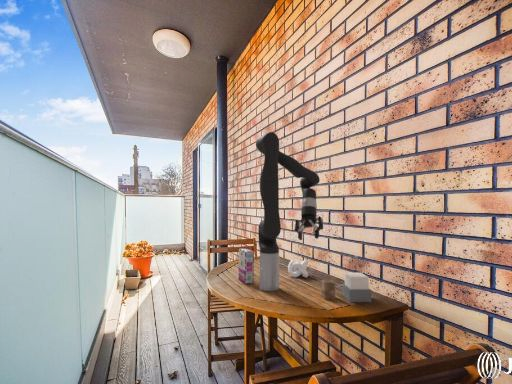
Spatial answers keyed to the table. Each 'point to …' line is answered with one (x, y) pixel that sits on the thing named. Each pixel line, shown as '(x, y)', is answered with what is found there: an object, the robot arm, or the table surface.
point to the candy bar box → (246, 266)
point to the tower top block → (356, 281)
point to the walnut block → (328, 289)
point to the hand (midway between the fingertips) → (308, 239)
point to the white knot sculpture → (298, 268)
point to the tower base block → (357, 294)
